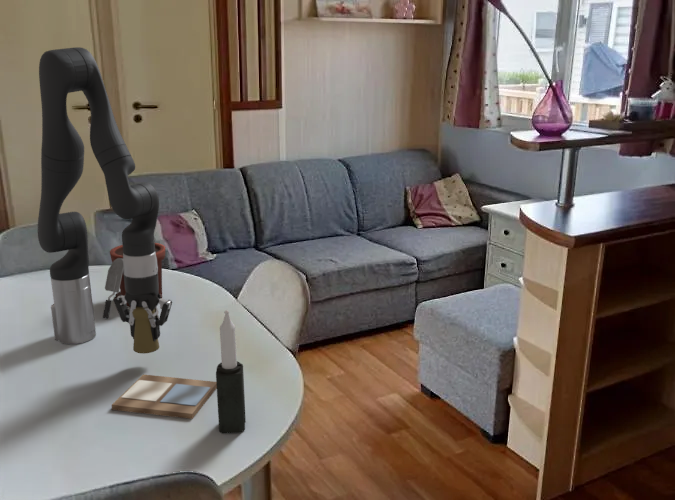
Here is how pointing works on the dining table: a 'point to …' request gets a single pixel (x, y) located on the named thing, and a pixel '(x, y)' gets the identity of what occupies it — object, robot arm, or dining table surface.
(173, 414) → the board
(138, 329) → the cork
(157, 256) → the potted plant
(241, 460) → the dining table surface
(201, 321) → the dining table surface
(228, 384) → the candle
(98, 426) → the dining table surface
